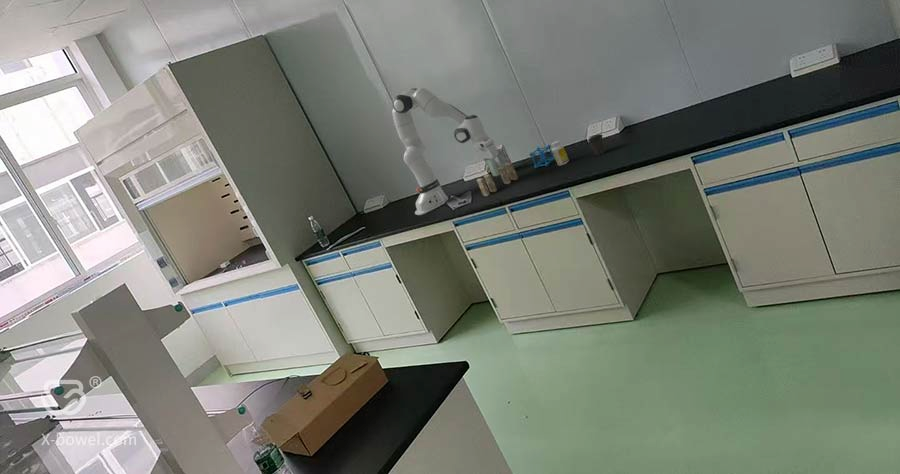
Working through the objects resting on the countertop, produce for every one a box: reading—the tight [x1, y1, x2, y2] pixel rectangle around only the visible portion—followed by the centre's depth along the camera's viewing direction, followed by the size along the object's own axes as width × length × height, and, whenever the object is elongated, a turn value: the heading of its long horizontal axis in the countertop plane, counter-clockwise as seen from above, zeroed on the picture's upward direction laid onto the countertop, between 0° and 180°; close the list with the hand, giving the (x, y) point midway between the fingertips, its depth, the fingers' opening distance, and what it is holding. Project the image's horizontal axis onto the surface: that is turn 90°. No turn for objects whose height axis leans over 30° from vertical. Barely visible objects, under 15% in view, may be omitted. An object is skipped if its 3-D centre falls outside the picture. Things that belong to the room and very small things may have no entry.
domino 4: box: [505, 162, 519, 181], centre depth 367 cm, size 2×5×10 cm, turn 24°
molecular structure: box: [529, 144, 556, 169], centre depth 368 cm, size 10×10×10 cm
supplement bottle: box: [550, 140, 570, 167], centre depth 352 cm, size 7×7×13 cm
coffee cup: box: [587, 133, 606, 156], centre depth 339 cm, size 8×8×10 cm
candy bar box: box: [495, 143, 512, 173], centre depth 388 cm, size 11×5×16 cm, turn 168°
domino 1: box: [476, 177, 491, 197], centre depth 361 cm, size 2×5×10 cm, turn 24°
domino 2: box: [483, 173, 498, 193], centre depth 363 cm, size 2×5×10 cm, turn 25°
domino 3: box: [497, 166, 512, 185], centre depth 366 cm, size 2×5×10 cm, turn 24°
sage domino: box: [485, 158, 501, 177], centre depth 362 cm, size 2×5×10 cm, turn 24°
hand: (491, 164), depth 362 cm, fingers closed on sage domino, 5 cm apart
